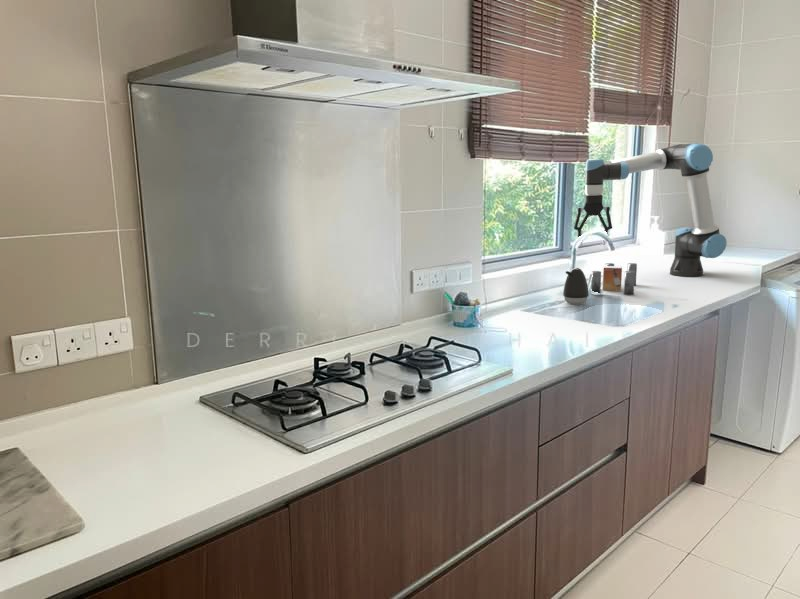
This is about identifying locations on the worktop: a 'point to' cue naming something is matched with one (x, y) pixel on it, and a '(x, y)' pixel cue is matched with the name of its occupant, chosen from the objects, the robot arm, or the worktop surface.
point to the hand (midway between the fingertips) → (592, 244)
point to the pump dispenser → (575, 287)
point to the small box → (612, 278)
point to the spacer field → (629, 279)
